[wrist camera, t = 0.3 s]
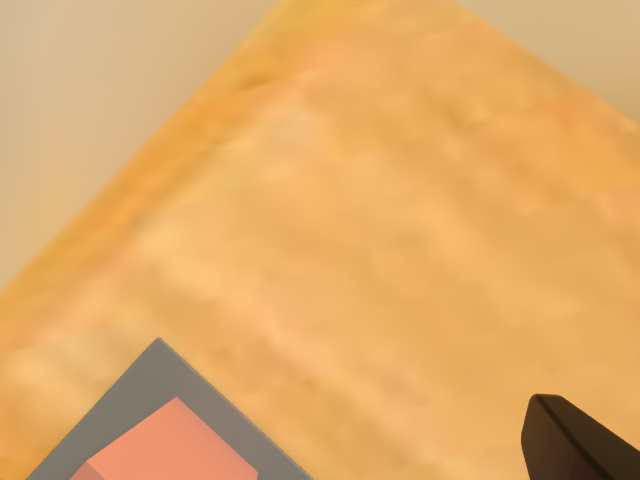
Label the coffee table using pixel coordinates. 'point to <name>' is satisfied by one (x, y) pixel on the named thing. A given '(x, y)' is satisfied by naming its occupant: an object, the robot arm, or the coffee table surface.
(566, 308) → the coffee table surface
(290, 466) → the mat
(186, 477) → the domino
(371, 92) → the coffee table surface
